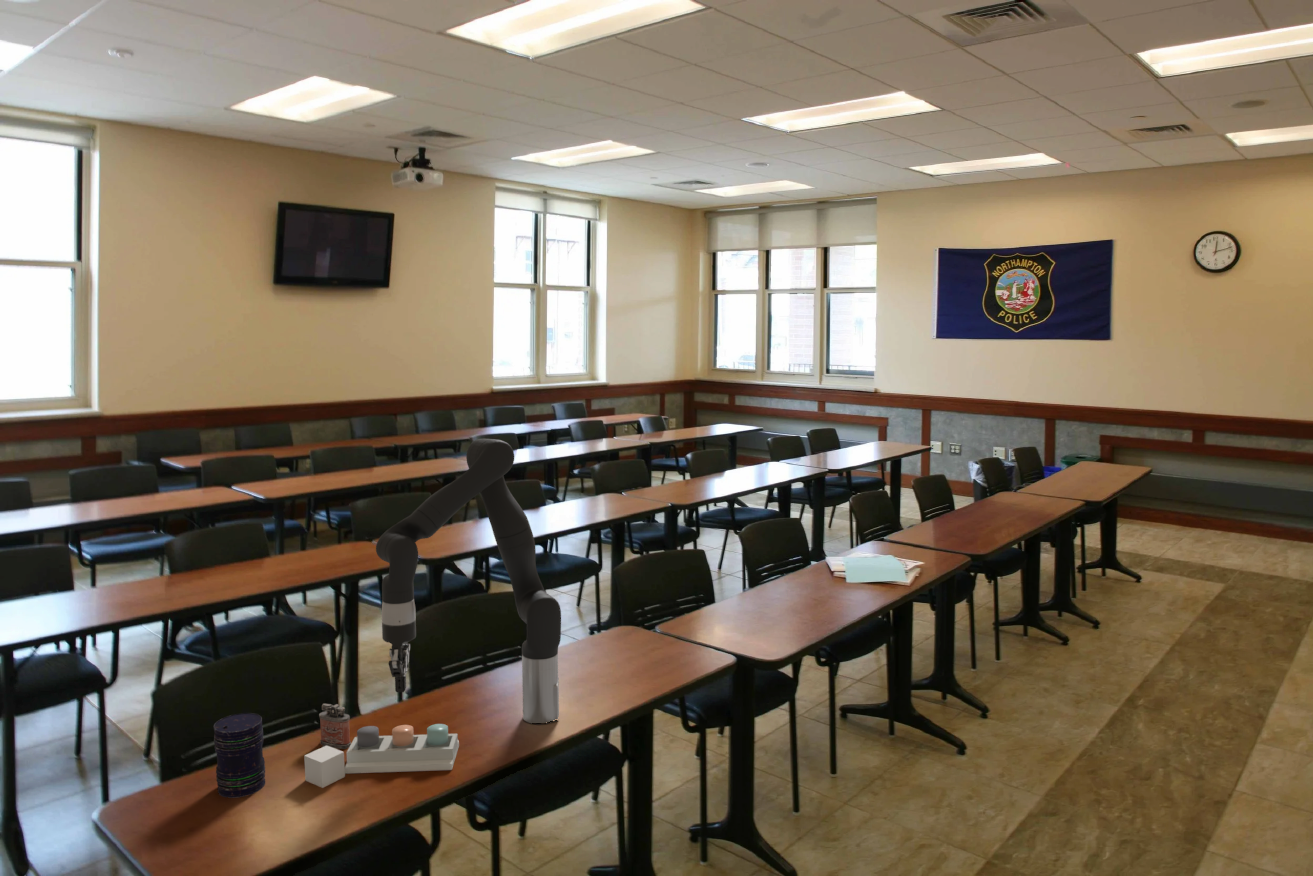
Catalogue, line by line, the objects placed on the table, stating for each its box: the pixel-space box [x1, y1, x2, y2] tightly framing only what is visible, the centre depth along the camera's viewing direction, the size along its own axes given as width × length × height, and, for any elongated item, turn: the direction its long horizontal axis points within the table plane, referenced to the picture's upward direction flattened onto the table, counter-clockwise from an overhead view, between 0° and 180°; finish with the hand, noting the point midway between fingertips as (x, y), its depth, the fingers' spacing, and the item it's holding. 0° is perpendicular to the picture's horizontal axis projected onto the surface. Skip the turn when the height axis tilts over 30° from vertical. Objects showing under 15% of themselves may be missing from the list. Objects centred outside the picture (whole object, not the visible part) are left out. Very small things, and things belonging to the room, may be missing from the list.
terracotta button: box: [391, 724, 415, 746], centre depth 216 cm, size 5×5×3 cm
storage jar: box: [213, 712, 266, 799], centre depth 203 cm, size 10×10×15 cm
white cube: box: [304, 745, 346, 789], centre depth 207 cm, size 6×6×6 cm
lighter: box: [318, 703, 352, 750], centre depth 224 cm, size 8×3×10 cm, turn 71°
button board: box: [344, 733, 460, 775], centre depth 217 cm, size 24×12×4 cm, turn 94°
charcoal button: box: [356, 725, 380, 747], centre depth 216 cm, size 5×5×3 cm
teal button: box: [426, 723, 449, 745], centre depth 217 cm, size 5×5×3 cm
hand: (400, 690), depth 215 cm, fingers closed
